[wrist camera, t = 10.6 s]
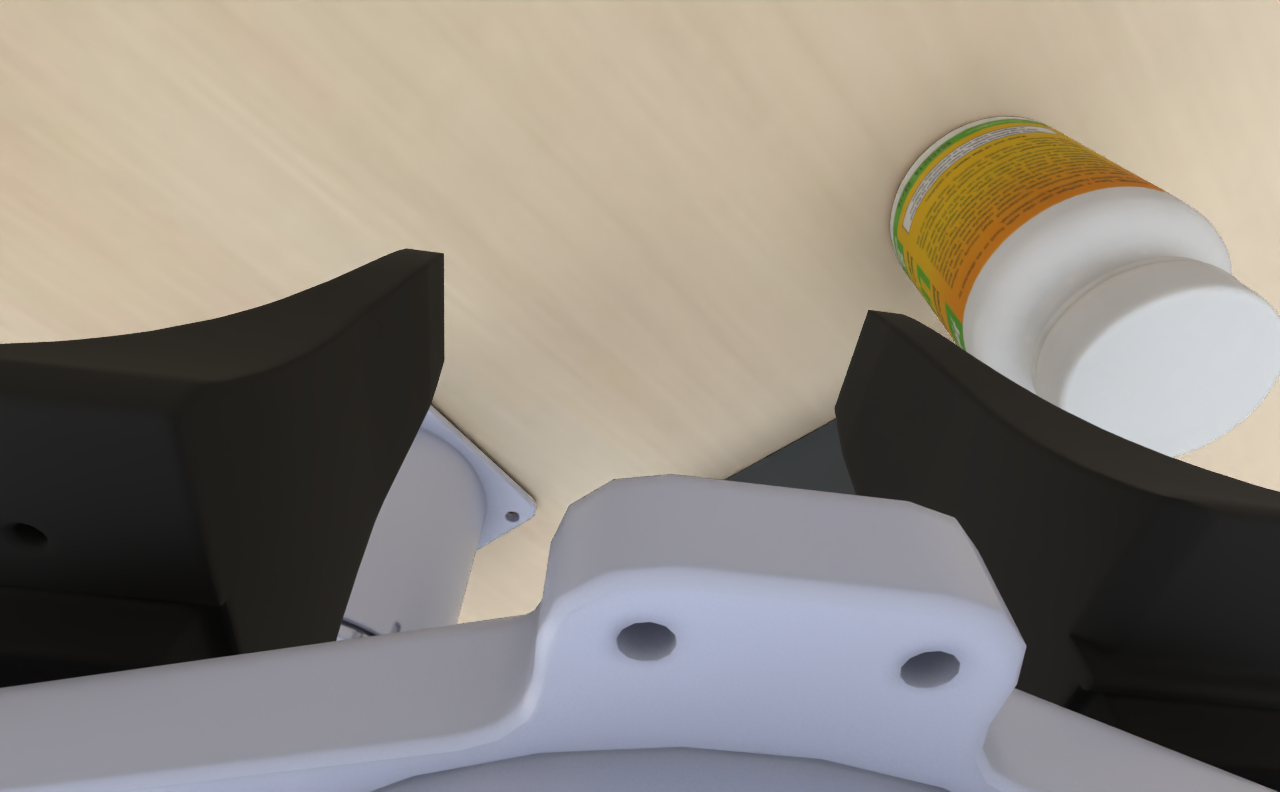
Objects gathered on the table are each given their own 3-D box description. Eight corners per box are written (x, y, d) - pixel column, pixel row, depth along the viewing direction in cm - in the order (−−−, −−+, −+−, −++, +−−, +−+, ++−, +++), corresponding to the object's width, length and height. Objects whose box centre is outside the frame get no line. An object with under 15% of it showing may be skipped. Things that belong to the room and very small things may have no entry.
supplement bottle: (848, 235, 23) (962, 422, 14) (979, 72, 20) (1206, 188, 12) (977, 319, 24) (1145, 529, 16) (1115, 177, 22) (1396, 342, 13)
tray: (820, 678, 34) (839, 762, 31) (659, 515, 29) (661, 595, 26) (1094, 563, 30) (1150, 644, 27) (966, 345, 25) (1017, 415, 21)
